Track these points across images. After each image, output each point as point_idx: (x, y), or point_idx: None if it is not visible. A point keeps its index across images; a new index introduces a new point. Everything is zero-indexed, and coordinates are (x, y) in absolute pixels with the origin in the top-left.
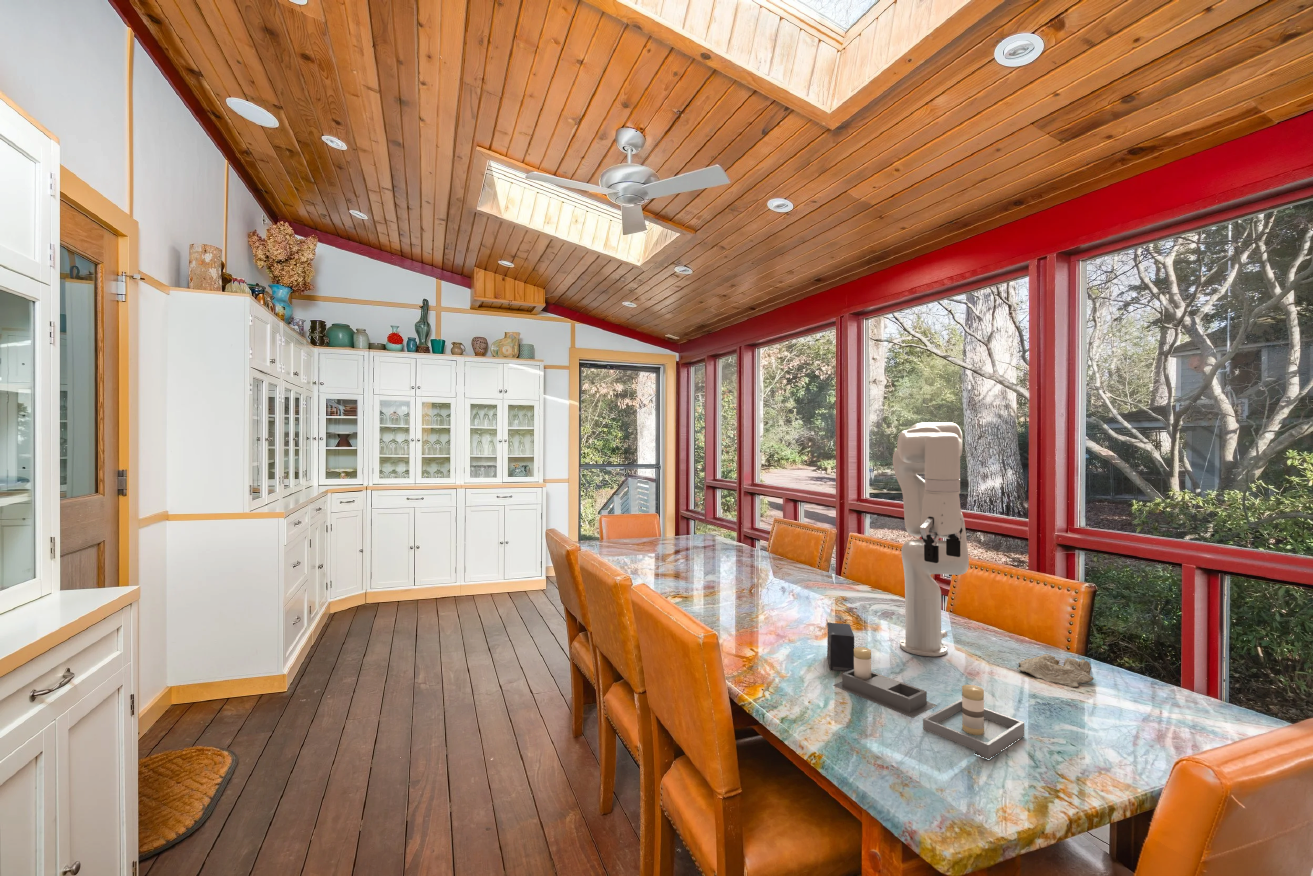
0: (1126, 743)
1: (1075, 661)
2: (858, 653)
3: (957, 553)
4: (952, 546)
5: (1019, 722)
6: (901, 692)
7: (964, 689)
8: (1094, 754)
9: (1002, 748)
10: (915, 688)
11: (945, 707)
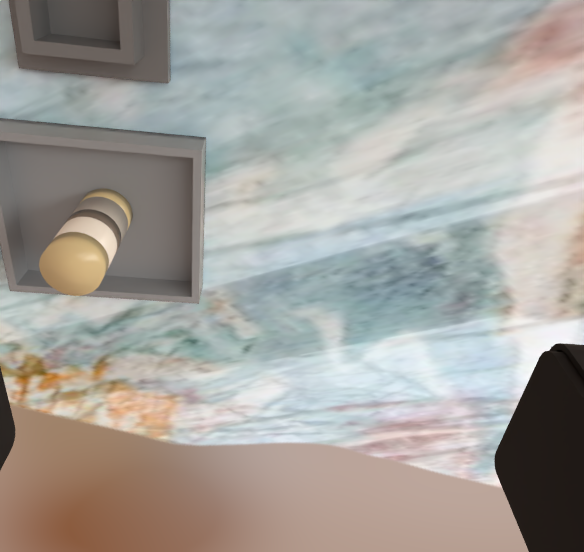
0: (331, 400)
1: None
2: None
3: (512, 489)
4: (575, 528)
5: (186, 298)
6: None
7: (41, 257)
8: (236, 379)
9: None
10: (122, 23)
11: (107, 143)
